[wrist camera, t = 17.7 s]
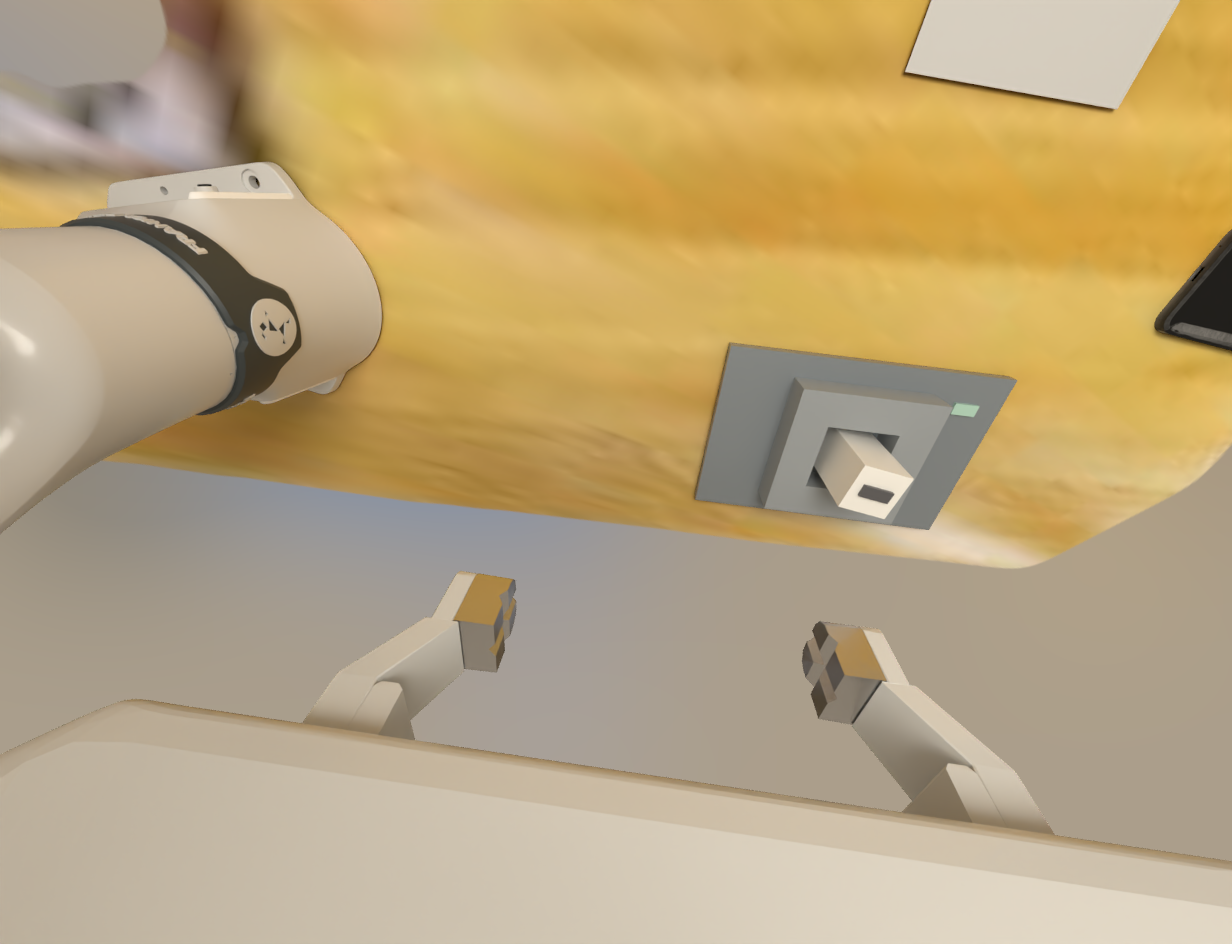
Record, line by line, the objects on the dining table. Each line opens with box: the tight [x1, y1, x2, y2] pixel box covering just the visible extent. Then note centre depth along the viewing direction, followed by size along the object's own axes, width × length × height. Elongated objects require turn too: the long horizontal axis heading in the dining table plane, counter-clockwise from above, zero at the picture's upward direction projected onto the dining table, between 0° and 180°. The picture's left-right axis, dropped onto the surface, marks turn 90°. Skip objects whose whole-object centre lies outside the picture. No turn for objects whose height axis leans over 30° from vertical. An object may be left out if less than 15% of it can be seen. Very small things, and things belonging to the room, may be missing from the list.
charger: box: [814, 427, 914, 519], centre depth 38 cm, size 4×4×8 cm
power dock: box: [695, 343, 1017, 530], centre depth 41 cm, size 24×16×4 cm, turn 84°
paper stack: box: [905, 0, 1180, 109], centre depth 27 cm, size 23×25×1 cm
